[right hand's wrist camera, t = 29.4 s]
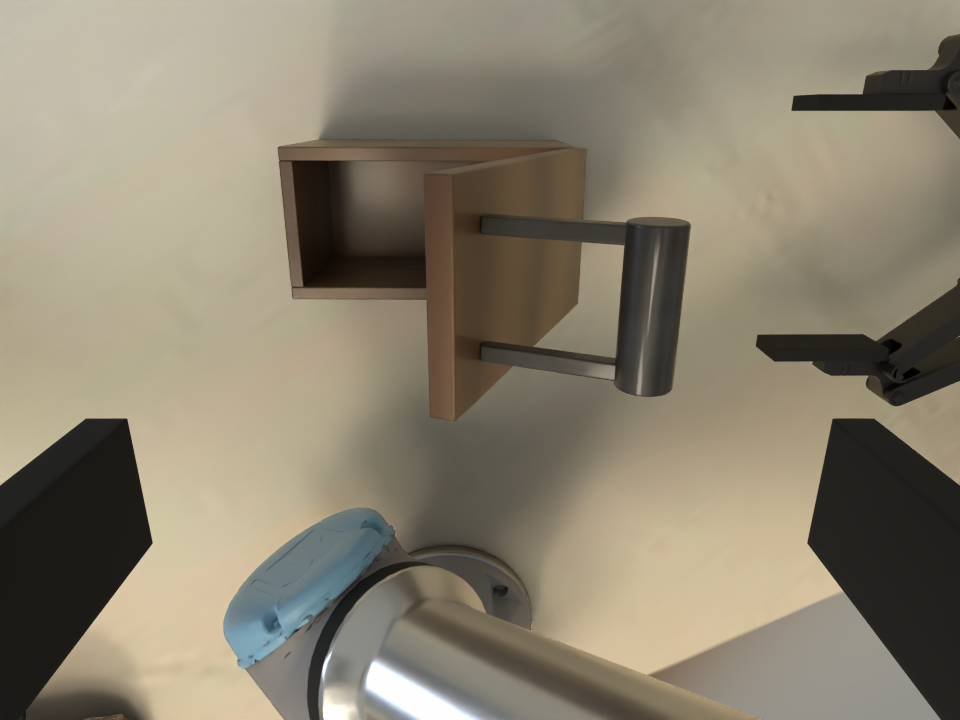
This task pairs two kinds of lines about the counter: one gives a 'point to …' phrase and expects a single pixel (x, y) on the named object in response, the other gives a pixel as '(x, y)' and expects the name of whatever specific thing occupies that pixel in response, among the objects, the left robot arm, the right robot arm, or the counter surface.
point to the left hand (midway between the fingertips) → (782, 233)
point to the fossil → (111, 719)
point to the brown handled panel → (538, 279)
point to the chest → (369, 210)
